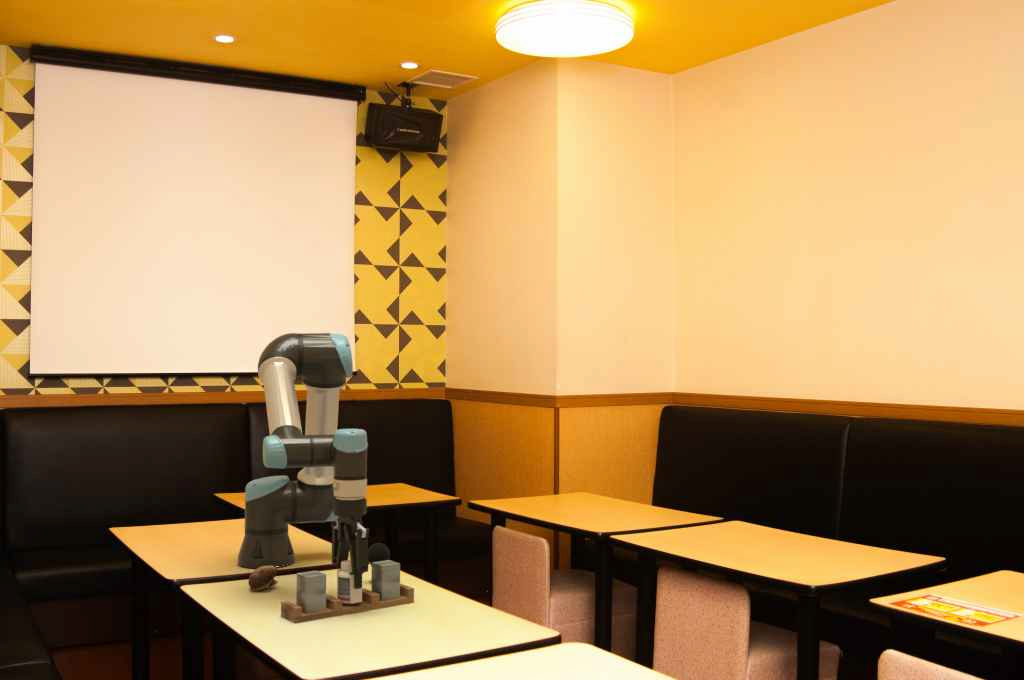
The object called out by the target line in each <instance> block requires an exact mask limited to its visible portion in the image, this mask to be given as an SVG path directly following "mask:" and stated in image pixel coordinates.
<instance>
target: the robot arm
mask: <svg viewBox="0 0 1024 680" xmlns="http://www.w3.org/2000/svg"><path fill="white" fill-rule="evenodd" d="M266 345H267V346H265V347H264V349H263V351H262V352H261V354H260V356H259V358H258V362H257V374H258V379H259V381H260V382H261V383H262V384H263V389H264V391H263V392H264V398H265V406H266V413H267V416H266V417H267V422H268V430H269V435H267V436H265V437H264V438H263V442H262V463H263V466H264V467H265V468H269V469H279V470H281V469H282V470H283V469H298V468H302V469H301V470H300V471H299V472H298V473H297V477H296V478H297V479H296V480H290V478H289V476H288V475H273V476H266V477H260V478H256V479H253V480H251V481H249V482H248V483H247V484H246V485H245V491H244V492H245V494H244V502H245V503H244V537H243V540H242V543H241V545H240V548H239V552H238V555H237V565H238V566H239V565H240V567H242V566H244V567H243V568H246V567H251V568H250V569H257V568H259V567H262V566H274V567H276V566H283V565H287V564H290V563H293V562H294V561H295V559H296V558H295V556H296V555H295V551H294V548H293V544H292V542H291V539H290V535H289V524H305V523H306V524H308V523H309V524H310V523H326V522H330V526H331V534H332V535H331V564H332V565H335V568H336V598H337V599H338V574H339V572H340V571H342V569H341V562H342V561H346V560H351V567H352V572H350V573H349V574H350V603H351V604H353V603H359V602H362V588H363V574H365V573H368V572H369V562H368V549H369V535H370V529H369V527H366V528H365V527H364V526H363V520H362V517H363V516H365V515H366V514H367V512H368V510H367V509H368V505H367V504H368V500H367V498H366V496H367V495H368V475H367V474H368V473H367V472H368V464H367V463H368V462H367V461H368V447H369V443H368V434H367V432H366V429H365V430H364V429H362V428H360V429H359V428H340V429H338V424H339V423H338V419H339V404H340V403H339V402H340V390H341V389H343V387H345V386H346V380H347V379H348V378H351V377H352V376H353V372H354V369H353V368H354V367H353V355H352V349H351V348H352V347H351V343H350V341H349V339H348V337H347V336H346V335H345V334H342V333H332V332H327V333H325V332H323V333H322V332H320V333H318V332H317V333H311V332H310V333H303V332H302V333H298V332H297V333H296V332H291V333H290V332H289V333H285V334H282V335H280V336H277V337H276V338H274V339H273V340H272V341H270V343H268V344H266ZM295 378H301V383H302V385H303V386H304V387H305V388H306V389H307V391H306V392H307V393H306V408H305V409H306V410H305V429H304V430H305V431H304V434H303V430H302V423H301V422H302V421H301V415H300V412H299V411H300V410H299V404H298V398H297V397H298V396H297V391H296V385H295V384H296V383H295ZM349 558H350V559H349ZM294 563H295V562H294ZM294 563H293V564H294ZM290 565H291V564H290ZM287 566H288V565H287ZM283 567H284V566H283ZM276 568H277V567H276Z"/></svg>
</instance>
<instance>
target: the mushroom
mask: <svg viewBox="0 0 1024 680" xmlns="http://www.w3.org/2000/svg"><path fill="white" fill-rule="evenodd" d="M277 574H278V567H274V566H262V567H259V568H254V570H253V571H252V572H251V574H250V575H249V577H248V586H249V588H250V589H251V590H252V591H254V592H258V591H261V590H262V589H267V590H269V589H271V588H273V587H274V586H276V585H277V584H278V583H279V581H277V580H276V579H275V577H276V575H277Z"/></svg>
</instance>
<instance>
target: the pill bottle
mask: <svg viewBox="0 0 1024 680" xmlns="http://www.w3.org/2000/svg"><path fill="white" fill-rule="evenodd" d="M341 569H342V571H340V572H339V574H338V598H337V599H340V600H342V603H346V604H350V574H349V573H350V572H352V567H351V559H348V560H346V561H342V562H341Z"/></svg>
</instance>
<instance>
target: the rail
mask: <svg viewBox="0 0 1024 680" xmlns="http://www.w3.org/2000/svg"><path fill="white" fill-rule="evenodd" d="M370 586H371V590H370V589H367V588H365V587H362V602H359V603H353V604H351V603H350V604H346V603H342V600H340V599H338V598H337V597H335V596H333V595H330V594H328V593H327V574H326V573H323V572H321V571H318V570H311V571H303V572H297V573H296V589H295V590H296V594H295V595H296V596H295V597H296V599H295V600H296V603H294V602H291V601H290V600H284V601H281V602H280V617H282V618H283V619H285V620H288V621H290V622H291V623H294V624H299V623H305V622H309V621H316V620H323V619H327V618H332V617H334V618H335V617H338V616H344V615H350V614H356V613H360V612H367V611H372V610H378V609H384V608H389V607H390V608H391V607H396V606H399V605H400V606H401V605H406V604H411V603H415V588H413V587H411V586H409V585H405V584H402V583H401V563H400V562H398V561H397V562H396V561H394V560H391V559H389V560H386V561H379V562H372V567H371V585H370Z"/></svg>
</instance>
